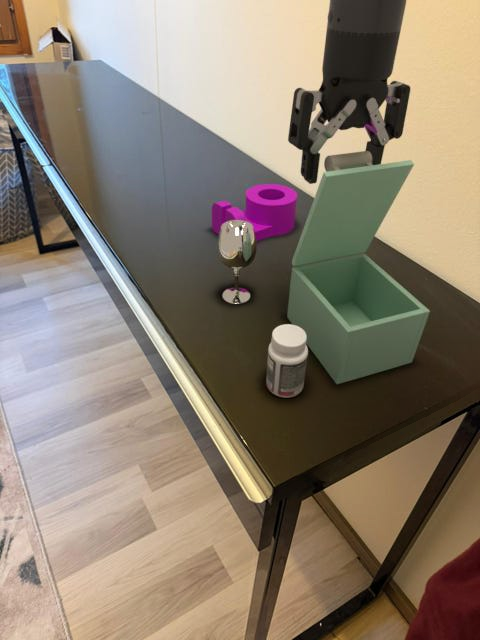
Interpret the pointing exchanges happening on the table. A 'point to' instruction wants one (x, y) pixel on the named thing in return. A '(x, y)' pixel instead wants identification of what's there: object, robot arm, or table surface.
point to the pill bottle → (287, 361)
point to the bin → (355, 316)
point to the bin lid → (349, 206)
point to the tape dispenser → (261, 211)
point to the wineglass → (236, 254)
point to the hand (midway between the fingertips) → (340, 177)
